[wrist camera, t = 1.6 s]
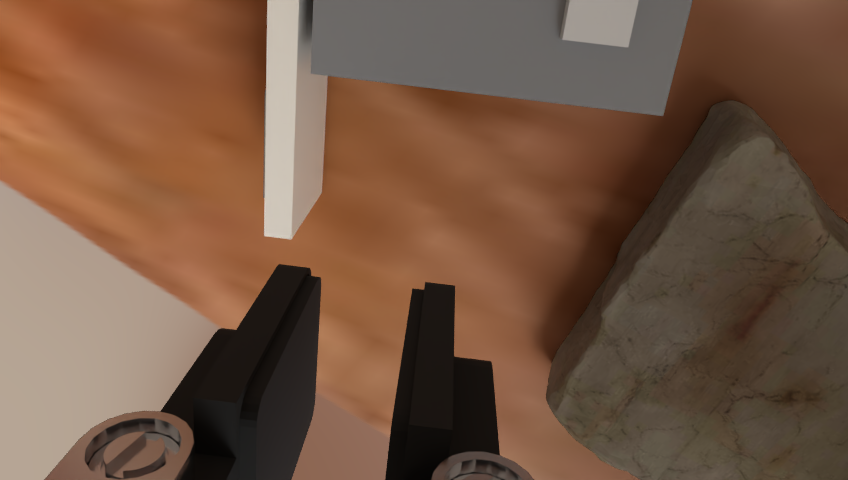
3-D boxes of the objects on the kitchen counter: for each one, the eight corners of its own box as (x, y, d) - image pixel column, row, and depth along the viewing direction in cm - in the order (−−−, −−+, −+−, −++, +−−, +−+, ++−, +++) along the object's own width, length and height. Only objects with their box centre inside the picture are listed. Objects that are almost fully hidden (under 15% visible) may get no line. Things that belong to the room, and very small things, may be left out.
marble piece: (714, 89, 26) (759, 108, 22) (990, 243, 28) (1075, 285, 24) (513, 386, 32) (521, 441, 28) (752, 495, 34) (790, 561, 30)
